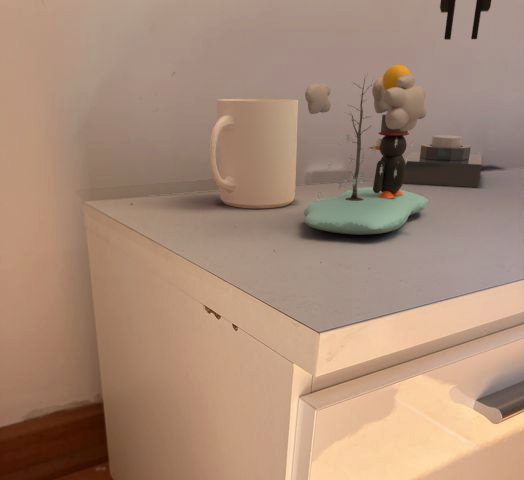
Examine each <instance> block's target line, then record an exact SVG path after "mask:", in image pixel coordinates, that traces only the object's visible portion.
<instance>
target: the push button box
mask: <svg viewBox="0 0 524 480" xmlns="http://www.w3.org/2000/svg"><path fill="white" fill-rule="evenodd" d="M431 143H432V142H430V143H422V144H420V151H419V152H418V151H417V152H416V151H412V152H411V153H410V154H409V155H408V156H406V157H405V159H406V160H407V163H406V165H405V172H404V181H403V184H411V185H412V184H413V185H414V184H415V185H429V186H448V187H464V188H479V185H480V180H481V179H480V178H481V174H482V169H483V168H482V167H483V159H482V154H471V148H472V146H471V145H468V144H461V147H436V146H431ZM405 159H404V161H405Z"/></svg>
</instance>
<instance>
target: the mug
mask: <svg viewBox="0 0 524 480" xmlns="http://www.w3.org/2000/svg"><path fill="white" fill-rule="evenodd" d="M298 108H299V100H298V99H279V98H220V99H216V114H217V117H216V119H217V121H216V123H215V124H214V126H213V127H212V131H211V134H210V137H209V146H208V148H209V149H208V159H209V162H208V163H209V167H210V173H211V176H212V179H213V181H214V182H215V184H216V185H217V187H218V191H219V192H218V193H219V199H220V200H221V202H222V203H224V204H225V205H227V206H230V207H234V208H235V207H236V208H239V209H240V208H241V209H255V210H256V209H259V210H260V209H276V208H282V207H285V206H288V205H290V204H292V203H293V201H294V200H295V196H296V195H295V194H296V179H297V178H296V177H297V174H296V173H297V148H298V147H297V146H298V120H299V119H298V116H299V109H298ZM216 149H217V150H216ZM216 151H217V155H216ZM216 156H218V157H216ZM217 159H218V162H217ZM217 163H218V166H217Z"/></svg>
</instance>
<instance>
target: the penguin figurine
mask: <svg viewBox="0 0 524 480" xmlns="http://www.w3.org/2000/svg"><path fill="white" fill-rule="evenodd" d="M366 74H368V72H366ZM367 77H368V75H365V77H364V78H363V87H361V86H360V84H359V83H357V84H356V83H354V82H353V81H352V82H350V83H353V85H356V86H357V87H358V88H359V89H362V91H361V94H360V96H361V97H360V107H359V108H356V110H357V111H359V112H360V113H359V114H360V115H359V122H358V121H357V120H355V118H354V116H353V114H352V112H351V111H349V112H350V114H349V113H347V114H348V115H350V116H351V122H352V127H353V129H354V132H353V133H354V135H356V141H354V139H353V138H351V134H348V133H347V134H346V135H345V136H346V139H345V141H346V143H347V144H349V142H350V141H351V142H352V144H356V159H355V170H354V174H353V172H352V171H347V172H348V173H350V174H351V175H352V177H353V178H352V183H351V185H352V188H351V189H349V190H346V191H344V192H343V193H341V194H340V195H338V196H337V195H336V196H330V197H324V198H321V199H320V197H322V191H323V190H321V189H320V190H318V194H317V197H318V198H319V199H318V200H315V201H313V202H311V203H310V204H308V205H307V207H305V209H304V212H303V214H304V217H305V218H304V219H303V221H304V224H305V225H307V226H308V227H309V228H312V229H316V230H320V231H324V232H328V233H329V232H330V233H334V234H335V233H336V234H343V235H355V236H356V235H357V236H358V235H359V236H362V235H363V236H365V235H366V236H367V235H368V236H369V235H378V234H385V233H389V232H393V231H396V230H398V229H400V228H401V227H403V226H404V225H405V224H406V223H407V221H408V218H409V217H410V216H411V215H414V214H417V213H420V212H421V211H423V210H425V209H426V207H427V206H428V204H429V199H427V197H424V196H422V195H420V194H417V193H414V192H411V191H407V190H403V189H401V188H402V187H403V184H404V183H403V181H404V172H405V165H406V163H407V160H406V158H404V156H403V155H404V153H405V151H406V149H407V139H406V138H405V136H408V135H410V132H409V131H411V130H413V129H414V128H416V126H417V123H418V120H423V119H424V118H425V117H426V116H427V114H428V112H427V108H426V106H425V99H426V96H427V95H426V94H427V93H426V90H425V89H424V87H422V86H419V85H415V84H416V77H415V76H414V75H413V74H411V72H410V70H409V68H407V67H406V66H405V65H402V64H395V65H394V64H393V65H392V66H390V67H389V68H388V69H386V70H385V72H384V74H383V76H380V77H378V78H377V79H376V80H374V83H373V80H372V82H371V83H370V85H368V86H367V88H366V90H365V92H364V89H365V84H366V83H365V82H366V78H367ZM373 79H375V77H374V78H373ZM372 83H373V84H372ZM371 86H372V90H371V92H372V97H373V107H374V111H375V113H376V114H381V124H380V125H381V126H380V132H378V135H380V136H383V137H382V138H378V139H376V141H375V143H373V144H374V145H372V146H370V147H369V149H371V150H372V151H371V152H372V153H374V152H376V150H377V151H379V152H380V154H381V155H382V157H381V158H380V160H378V161H377V163H376V168H375V173H374V180H373V185H372V186H368V187H367V186H366V187H365V186H364V187H358V180H360V184H361V185H362V183H363V179H361V178H364V175H365V173H364V172H360V165H361V164H362V163H363V161H361V158H365V155H366V153H365V152H364V151H363V153H362V156H361V151H362V134H363V133H364V132H365V131H368V129H370V128H371V126H369V127H367V128H365V129H363V130H362V125H363V124H362V123H363V120H364V119H365V117H363V116H364V115H363V114H364V109H363V102H366V101H367V99H364V97H363V96H364V95H365V93H366V92H367V91H368V90H369V89H370V87H371ZM330 95H331V87H330V86H329V85H328V84H320V83H313V84H311V85H309V86H308V87H307V88H306V90H305V93H304V97H305V101H306V102H307V109H308V112H309V114H311V115H316V114H319V113H328V112H330V110H331V99H330V98H329V96H330ZM348 107H352V108H354V106H353V105H351V104H350V105H349V104H348ZM343 113H344V114H346V112H345V111H344V112H343ZM384 113H385V114H384ZM371 117H373V114H372V115H371V116H370V115H369V116H366V119H367V118H371ZM355 122H356V124H355ZM356 125H358V130H357V129H356ZM350 138H351V139H350ZM338 139H339V140H338V142H339V144H342V143H343V136H341V135H340V136H338ZM410 145H411V146H410V150H411V151H412V150H413V148H414V141H411V143H410ZM365 149H366V148H364V150H365ZM350 156H351V157H349V164H350V166H352V163H353V161H354V157H352V156H353V155H352V154H351V155H350ZM404 160H405V161H404ZM360 161H361V162H360ZM332 164H333V163H332V162H330V163H328V164H327V166H328V167H327V168H328V171H330V170H331V169H332ZM343 182H344V184H343ZM343 182H342V181H341V179H340V180H339V182H338V186H337V187H338V190H340V189H341V188H342V184H343V186H344V187H346V186H347V184H348V183H347V182H348V179H344V180H343Z"/></svg>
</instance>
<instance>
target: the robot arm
mask: <svg viewBox="0 0 524 480" xmlns="http://www.w3.org/2000/svg"><path fill="white" fill-rule="evenodd" d="M456 1H457V0H440V4H439V9H440V12H441V13H442V14H444V13H446V21H445V22H446V23H445V31H444V38H443V39H444V40H445V41H446V40H447V41H448V40H451V39H452V32H453V23H454V16H455V9H456ZM491 5H492V0H476V3H475V8H474V9H475V10H474V16H473V23H472V30H471V36H470V37H471V38H470V39H471V40H478V35H479V27H480V21H481V14H482V12H483V13H484V12H487V13H488V12H489V10H490V9H491Z"/></svg>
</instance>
